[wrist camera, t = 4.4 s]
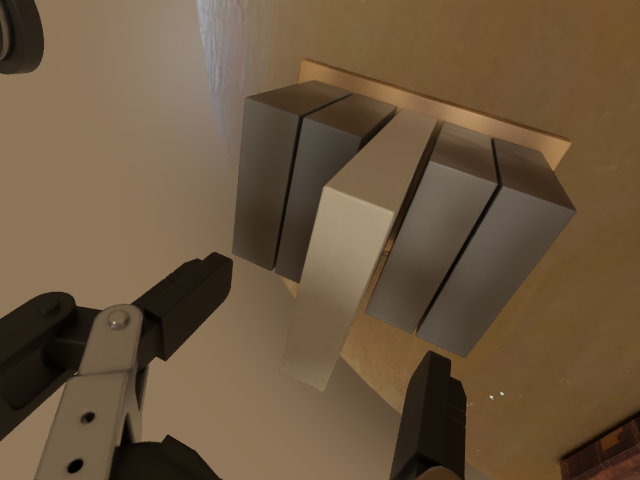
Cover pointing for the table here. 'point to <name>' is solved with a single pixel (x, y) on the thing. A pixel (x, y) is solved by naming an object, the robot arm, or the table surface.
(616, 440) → the book
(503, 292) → the paired blocks on board
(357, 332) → the table surface
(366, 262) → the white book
